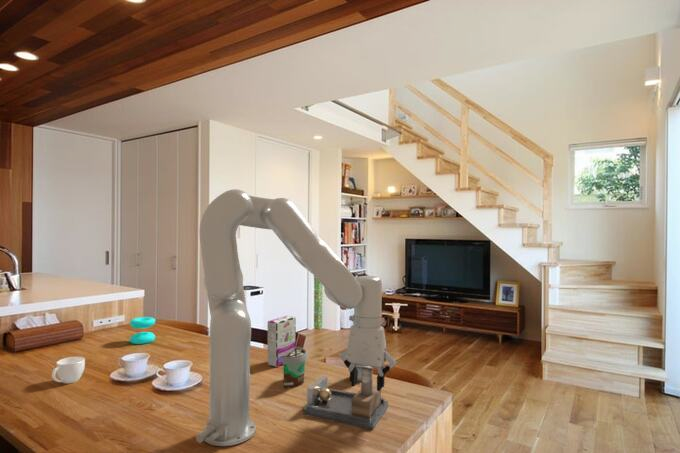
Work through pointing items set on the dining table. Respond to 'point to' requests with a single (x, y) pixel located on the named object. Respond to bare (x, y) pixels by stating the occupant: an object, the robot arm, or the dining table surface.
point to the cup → (69, 369)
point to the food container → (294, 367)
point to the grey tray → (338, 406)
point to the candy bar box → (281, 339)
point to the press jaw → (366, 395)
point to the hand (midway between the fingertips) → (366, 386)
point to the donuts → (142, 336)
